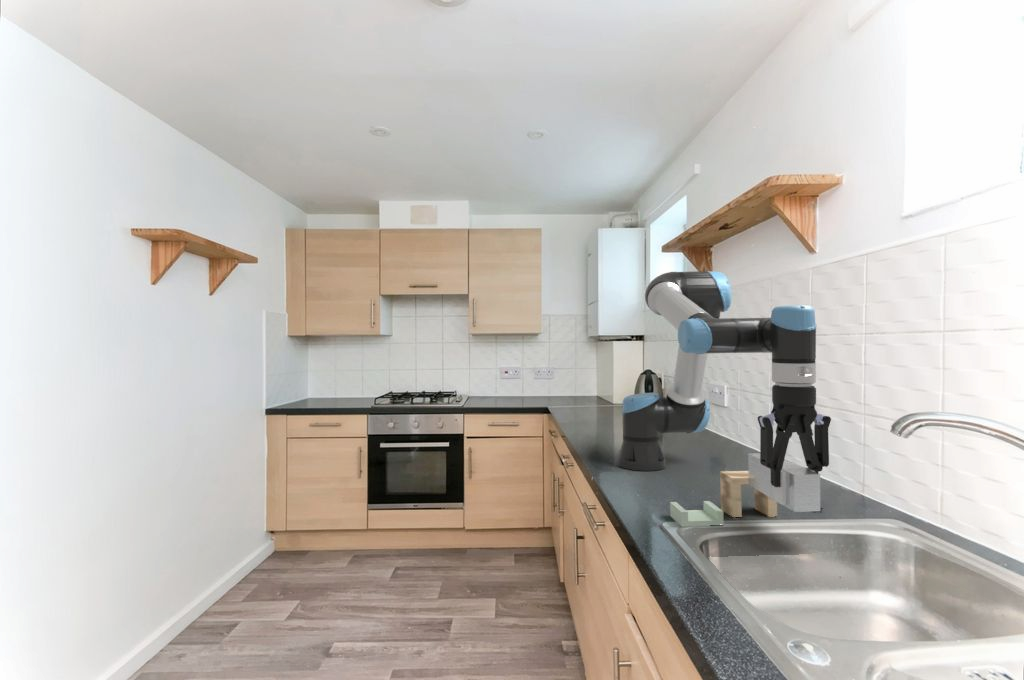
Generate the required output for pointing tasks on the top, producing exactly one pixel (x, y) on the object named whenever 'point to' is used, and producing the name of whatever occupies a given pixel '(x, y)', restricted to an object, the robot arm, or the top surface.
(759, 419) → the robot arm
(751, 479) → the steel bar
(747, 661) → the top surface
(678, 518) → the cradle
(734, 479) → the block
